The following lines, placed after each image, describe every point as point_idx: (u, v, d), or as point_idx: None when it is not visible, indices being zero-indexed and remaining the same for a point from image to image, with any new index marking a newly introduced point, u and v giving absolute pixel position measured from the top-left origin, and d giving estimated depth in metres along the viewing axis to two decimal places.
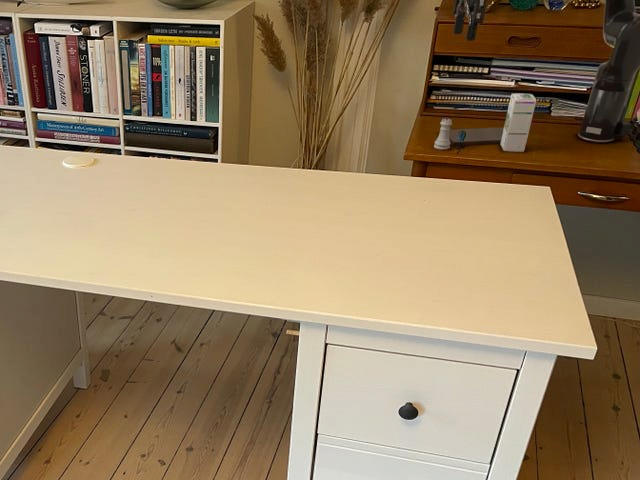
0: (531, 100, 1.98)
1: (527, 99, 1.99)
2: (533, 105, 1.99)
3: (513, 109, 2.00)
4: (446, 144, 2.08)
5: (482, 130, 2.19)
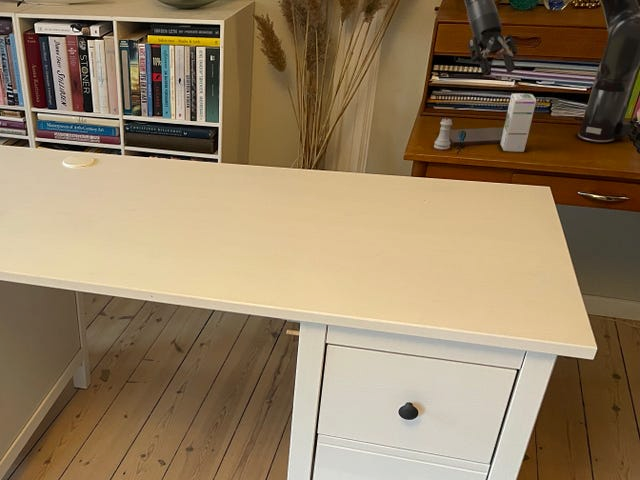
0: (531, 100, 1.98)
1: (527, 99, 1.99)
2: (533, 105, 1.99)
3: (513, 109, 2.00)
4: (446, 144, 2.08)
5: (482, 130, 2.19)
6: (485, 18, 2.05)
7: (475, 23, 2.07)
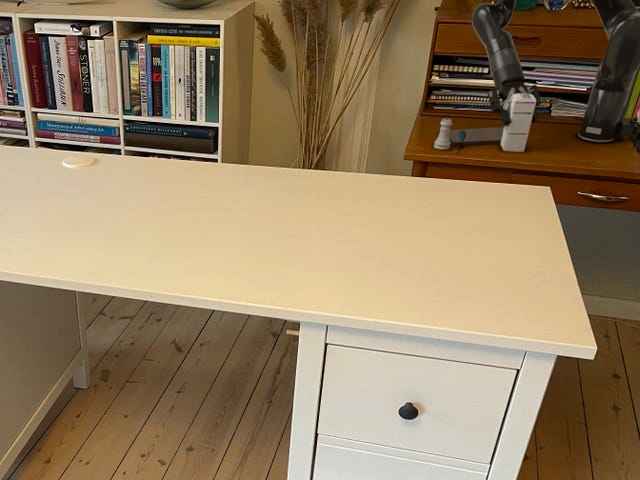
0: (531, 100, 1.98)
1: (527, 99, 1.99)
2: (533, 105, 1.99)
3: (513, 109, 2.00)
4: (446, 144, 2.08)
5: (482, 130, 2.19)
6: (505, 69, 2.03)
7: (495, 74, 2.05)
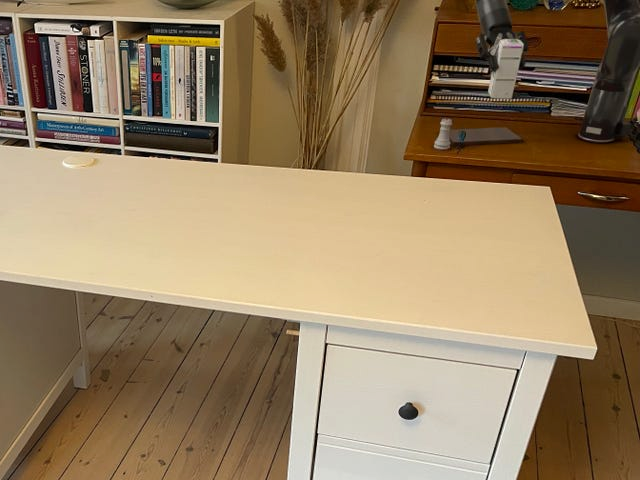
0: (518, 45, 1.97)
1: (514, 44, 1.97)
2: (520, 50, 1.97)
3: (500, 54, 1.99)
4: (446, 144, 2.08)
5: (482, 130, 2.19)
6: (493, 14, 2.01)
7: (483, 20, 2.03)
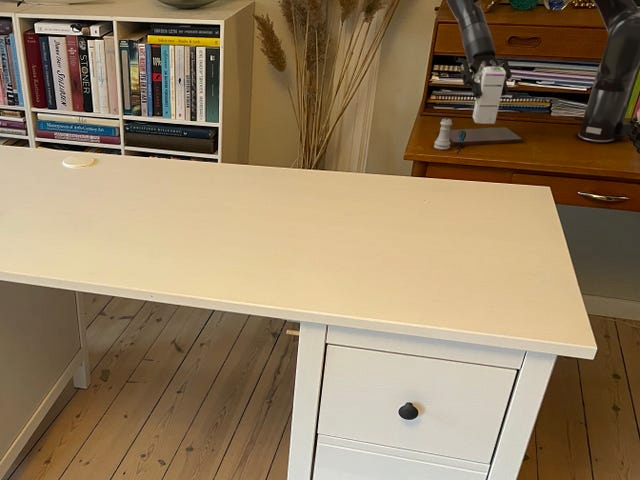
0: (501, 72, 2.04)
1: (497, 71, 2.04)
2: (503, 77, 2.04)
3: (483, 81, 2.06)
4: (446, 144, 2.08)
5: (482, 130, 2.19)
6: (476, 42, 2.08)
7: (467, 48, 2.10)
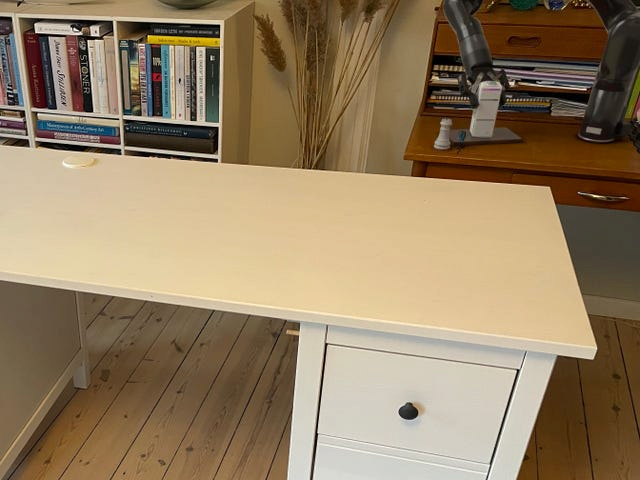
0: (497, 87, 2.06)
1: (493, 86, 2.06)
2: (499, 92, 2.07)
3: (480, 96, 2.08)
4: (446, 144, 2.08)
5: None
6: (474, 54, 2.10)
7: (465, 59, 2.12)
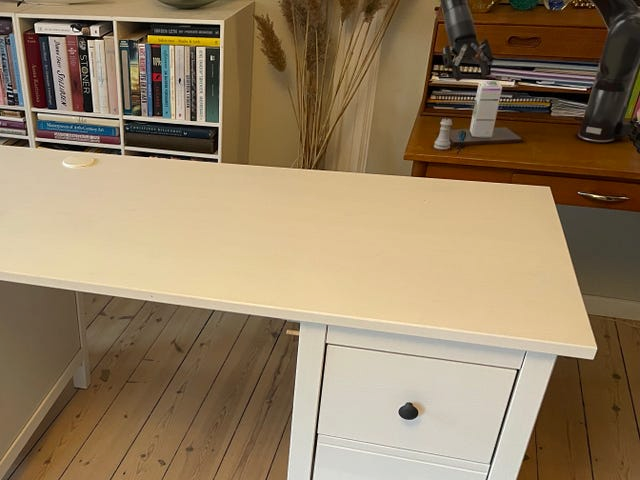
0: (497, 87, 2.06)
1: (493, 86, 2.06)
2: (499, 92, 2.07)
3: (480, 96, 2.08)
4: (446, 144, 2.08)
5: None
6: (458, 26, 2.15)
7: (449, 31, 2.18)
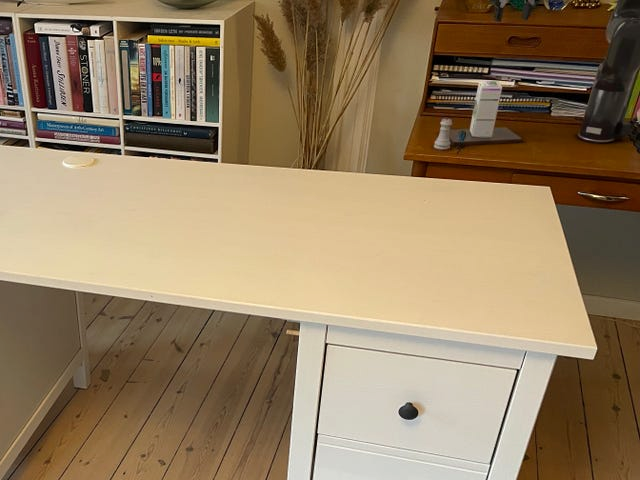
0: (497, 87, 2.06)
1: (493, 86, 2.06)
2: (499, 92, 2.07)
3: (480, 96, 2.08)
4: (446, 144, 2.08)
5: None
6: None
7: None
